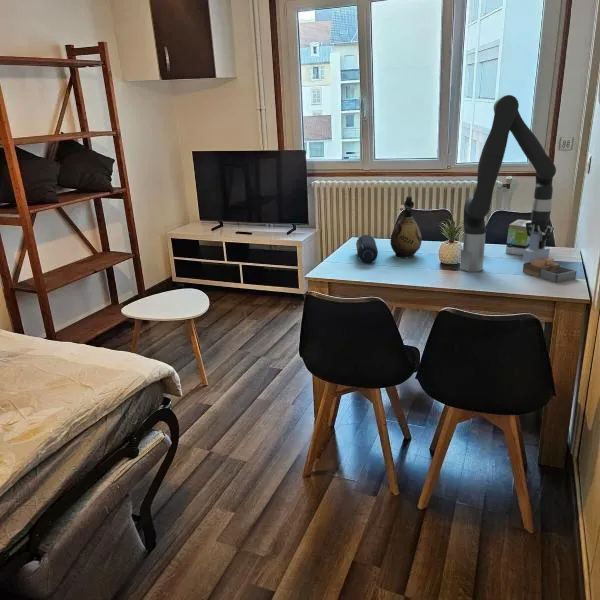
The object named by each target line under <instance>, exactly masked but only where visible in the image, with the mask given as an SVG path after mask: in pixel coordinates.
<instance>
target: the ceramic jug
mask: <svg viewBox="0 0 600 600" xmlns="http://www.w3.org/2000/svg"><path fill="white" fill-rule="evenodd" d="M414 206H415V204H414V201H413V195H412V196H411V195H408V196H406V198H405V201H404V203H403V207H404V213H403V215H402V217H401V219H400V220H399V221H398V222H397V224H396V225H395V226H394V228H393V230H392V232H391V236H390V242H389V244H390V246H391V249H392V250H393V252H394V253H395V257H396V258H400V259H410V258H414V256H415V254H416V253H417V252H418V251H419V250H420V248H421V247H422V241H423V240H422V233H421V230H420V227H419V225H418V224H417V222H416V221H415V219H414V216H413V214H412V209H413V208H414Z"/></svg>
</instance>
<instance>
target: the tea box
mask: <svg viewBox="0 0 600 600" xmlns="http://www.w3.org/2000/svg"><path fill="white" fill-rule="evenodd" d="M531 221H532V220H528V219H527V220H526V219H516V220H515V221H512V222H511V223H510V224H509V225H508V230H507V231H508V232H507V238H506V239H507V240H506V246H505V253H506V254H509V255H510V254H511V255H518V256H523V253H524V250H526V249H529V245H530V236H527V230H526V223H529V222H531Z"/></svg>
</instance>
